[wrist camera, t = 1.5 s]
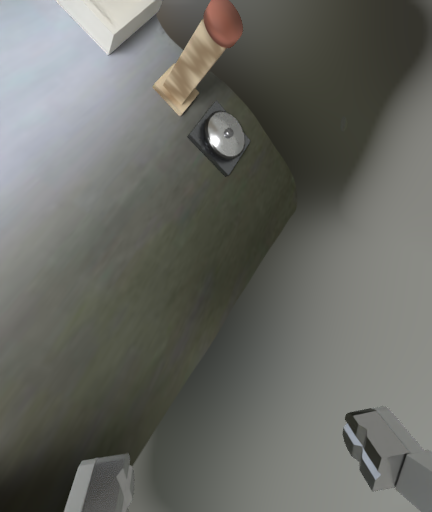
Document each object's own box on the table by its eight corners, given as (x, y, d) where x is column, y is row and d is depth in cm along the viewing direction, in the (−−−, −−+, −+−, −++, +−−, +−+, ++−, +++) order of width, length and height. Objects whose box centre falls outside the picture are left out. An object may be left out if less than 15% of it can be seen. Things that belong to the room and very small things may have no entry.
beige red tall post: (152, 87, 43) (197, 5, 30) (171, 67, 45) (221, -18, 32) (180, 116, 45) (232, 52, 32) (196, 96, 47) (252, 28, 34)
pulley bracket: (187, 136, 46) (196, 127, 43) (213, 103, 49) (223, 92, 46) (225, 176, 50) (236, 170, 47) (247, 143, 53) (258, 135, 50)
